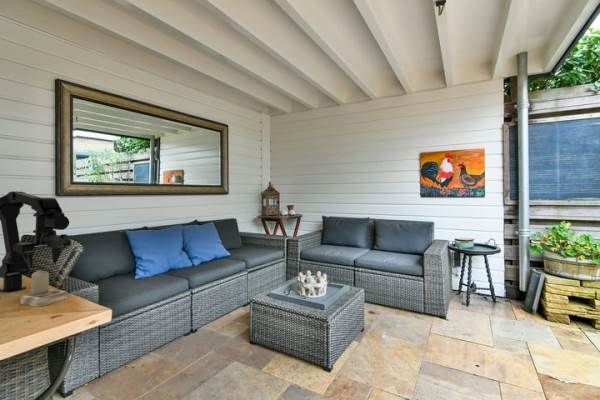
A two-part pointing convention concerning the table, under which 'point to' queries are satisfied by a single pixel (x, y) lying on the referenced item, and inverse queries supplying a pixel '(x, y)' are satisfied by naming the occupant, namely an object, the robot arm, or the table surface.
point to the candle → (39, 281)
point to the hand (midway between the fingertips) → (43, 265)
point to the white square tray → (43, 297)
